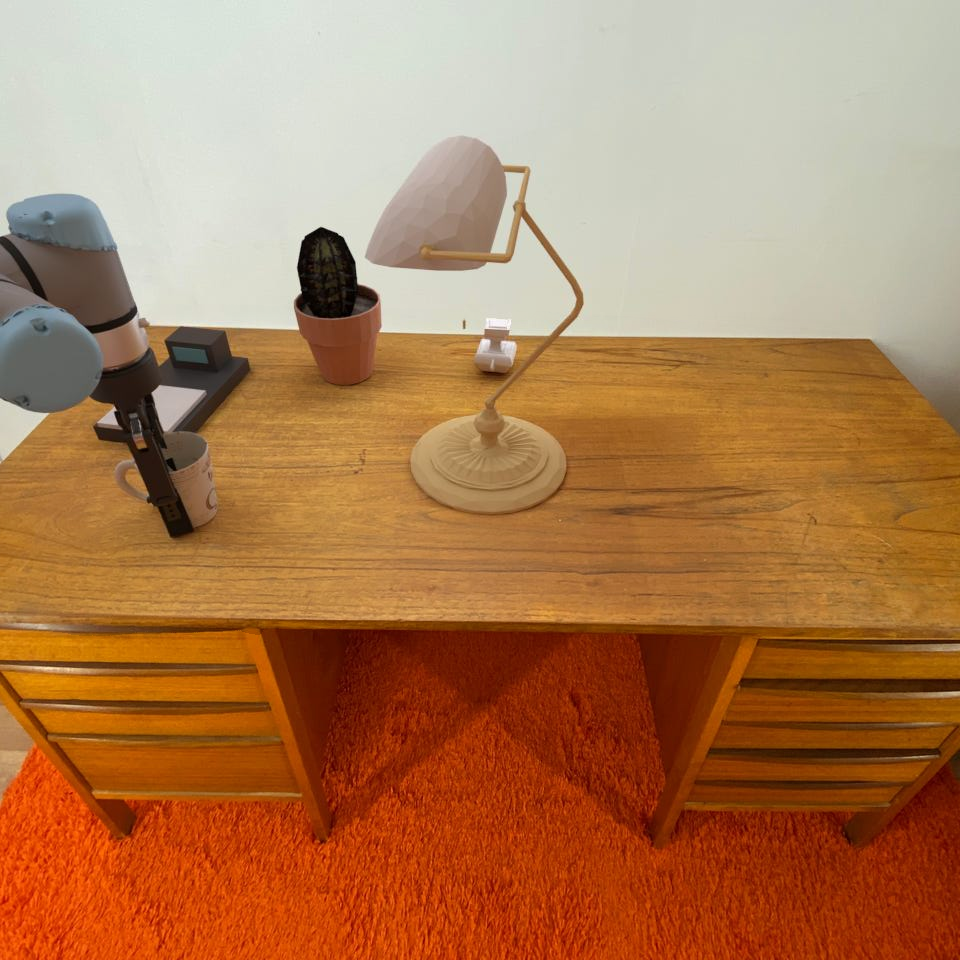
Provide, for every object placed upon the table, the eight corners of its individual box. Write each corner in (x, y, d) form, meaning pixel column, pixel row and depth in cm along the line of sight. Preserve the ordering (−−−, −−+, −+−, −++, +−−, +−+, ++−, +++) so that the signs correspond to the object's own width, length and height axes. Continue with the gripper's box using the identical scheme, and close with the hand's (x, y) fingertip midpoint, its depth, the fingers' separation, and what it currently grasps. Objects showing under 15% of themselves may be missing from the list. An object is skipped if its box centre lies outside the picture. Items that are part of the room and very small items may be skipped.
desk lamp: (425, 396, 104) (412, 120, 78) (567, 407, 102) (601, 128, 76) (381, 528, 81) (341, 196, 55) (564, 545, 79) (612, 210, 53)
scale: (180, 450, 92) (164, 407, 88) (98, 439, 94) (78, 397, 89) (250, 370, 110) (241, 330, 105) (180, 362, 111) (168, 323, 107)
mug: (216, 535, 79) (194, 474, 73) (114, 535, 79) (83, 473, 73) (235, 491, 86) (216, 431, 79) (141, 490, 85) (114, 430, 79)
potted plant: (403, 366, 111) (392, 219, 95) (349, 402, 103) (328, 247, 86) (344, 345, 117) (325, 202, 101) (289, 377, 108) (258, 227, 92)
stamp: (480, 353, 115) (481, 309, 110) (517, 356, 115) (519, 312, 109) (472, 378, 109) (472, 333, 103) (510, 382, 108) (513, 337, 102)
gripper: (159, 392, 61) (220, 556, 76) (145, 311, 75) (200, 464, 90) (72, 410, 59) (153, 576, 74) (74, 323, 72) (142, 478, 87)
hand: (179, 514), depth 82 cm, fingers closed on mug, 6 cm apart
